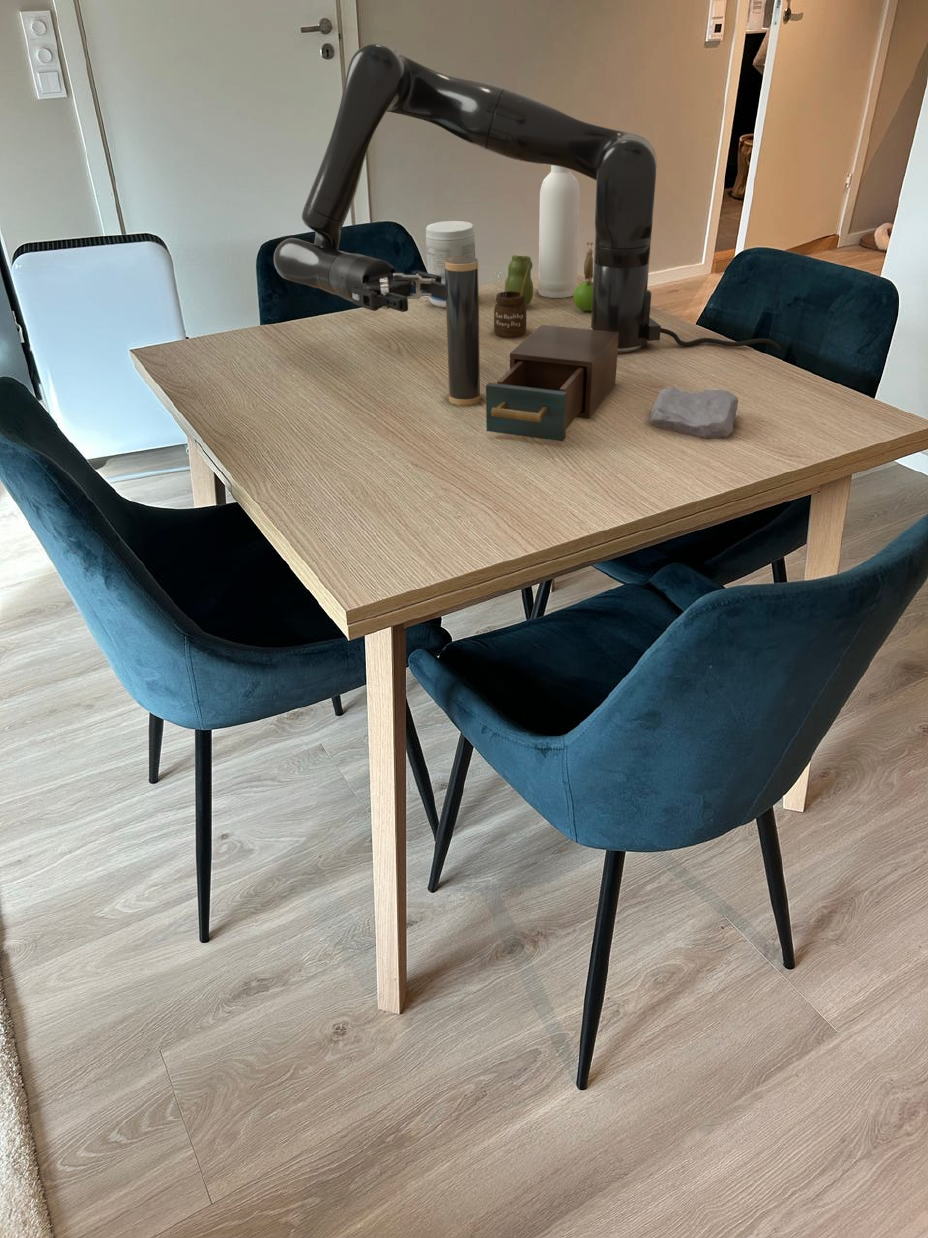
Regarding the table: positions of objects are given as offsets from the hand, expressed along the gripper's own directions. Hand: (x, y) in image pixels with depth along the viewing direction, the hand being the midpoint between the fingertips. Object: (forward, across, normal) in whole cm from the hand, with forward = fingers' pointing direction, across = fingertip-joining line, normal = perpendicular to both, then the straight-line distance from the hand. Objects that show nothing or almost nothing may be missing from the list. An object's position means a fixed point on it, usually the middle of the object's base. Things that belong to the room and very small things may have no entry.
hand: (427, 298), depth 149 cm
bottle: (-22, +54, +14) cm, 60 cm away
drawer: (+24, -1, +13) cm, 27 cm away
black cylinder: (+8, 0, +14) cm, 16 cm away
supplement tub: (-33, +35, +14) cm, 50 cm away
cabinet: (+18, +11, +14) cm, 26 cm away
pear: (-21, +42, +14) cm, 49 cm away
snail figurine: (-10, +49, +14) cm, 52 cm away
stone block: (+39, +16, +14) cm, 45 cm away
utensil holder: (-10, +28, +14) cm, 33 cm away
